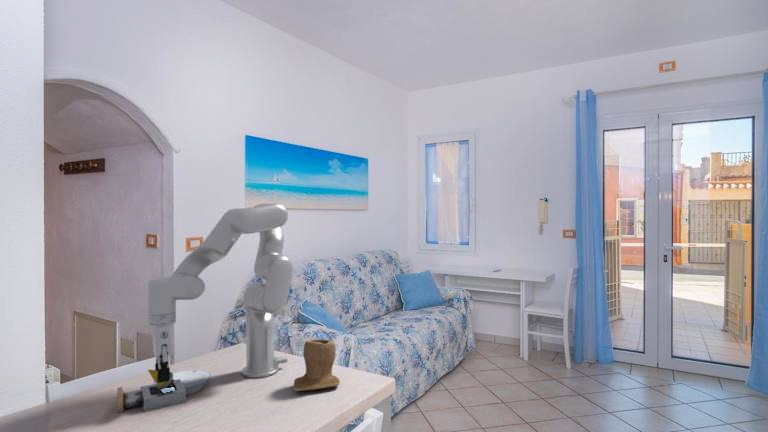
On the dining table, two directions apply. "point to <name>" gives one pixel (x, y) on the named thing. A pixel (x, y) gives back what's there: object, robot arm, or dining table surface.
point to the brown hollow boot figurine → (317, 366)
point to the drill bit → (161, 384)
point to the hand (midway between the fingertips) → (162, 377)
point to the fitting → (151, 397)
